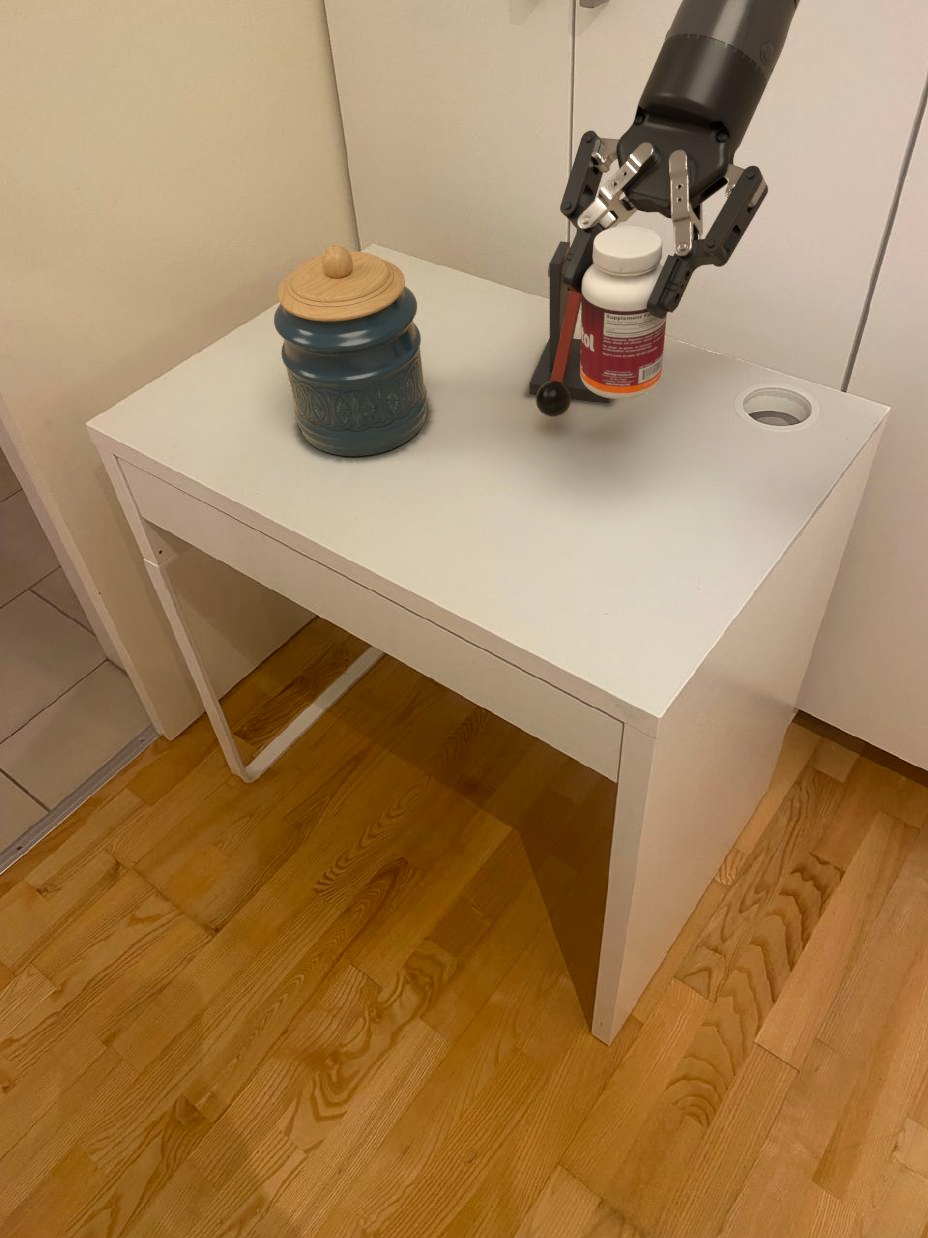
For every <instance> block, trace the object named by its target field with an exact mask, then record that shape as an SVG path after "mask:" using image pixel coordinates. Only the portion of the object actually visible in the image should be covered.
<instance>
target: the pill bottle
mask: <svg viewBox="0 0 928 1238" xmlns="http://www.w3.org/2000/svg"><path fill="white" fill-rule="evenodd" d="M662 258H663V238H662V236H661V235H660V234H659V233H658V232H657V231H655V230H653V229H651V228H647V227H644V226H637V225H619V226H616V227H613V228H610V229H607V230H604V231H602V232H601V233H599V234H598V235H597V236H596V237H595V239H594V244H593V264H592V265H591V266H590V267H589V268H588V269H587V270H586V272H585V274H584V276H583V279H582V288H581V305H580V308H581V310H580V339H581V350H580V376H581V380H582V382H583V383H584V385H585V386H586V387H587V388H588V389H589V390H590V391H592V392H593V393H595V394H597V395H600V396H602V397H606V398H610V399H611V400H613V399H614V400H626V399H627V400H628V399H633V398H637V397H641V396H644V395H645V394H647V393H650V392H651V391H652V390H654V389H655V388H656V386H657V385H658V384H659V382H660V380H661V377H662V371H663V360H664V349H665V338H666V327H667V316H668V314H667V315H666V317H665V318H664V319H660V318H657V317H654V316H653V315H652V314H651V313H650V312H649V311H648V310H647V302H648V300H649V298H650V295H651V293H652V291H653V288H654V286H655V284H656V282H657V279H658V277H659V275H660V273H661V270H662V268H663V266H664V265H663V264H661V260H662Z"/></svg>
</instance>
